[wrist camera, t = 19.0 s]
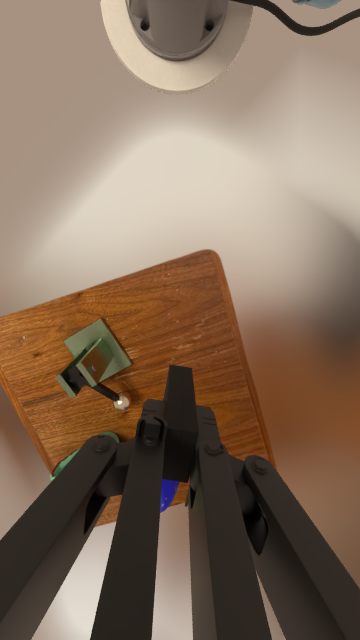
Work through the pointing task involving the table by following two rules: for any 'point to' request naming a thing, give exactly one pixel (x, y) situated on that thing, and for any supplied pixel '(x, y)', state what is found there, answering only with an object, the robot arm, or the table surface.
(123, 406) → the lever
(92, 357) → the bracket
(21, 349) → the table surface
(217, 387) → the table surface
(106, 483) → the robot arm
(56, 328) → the table surface
